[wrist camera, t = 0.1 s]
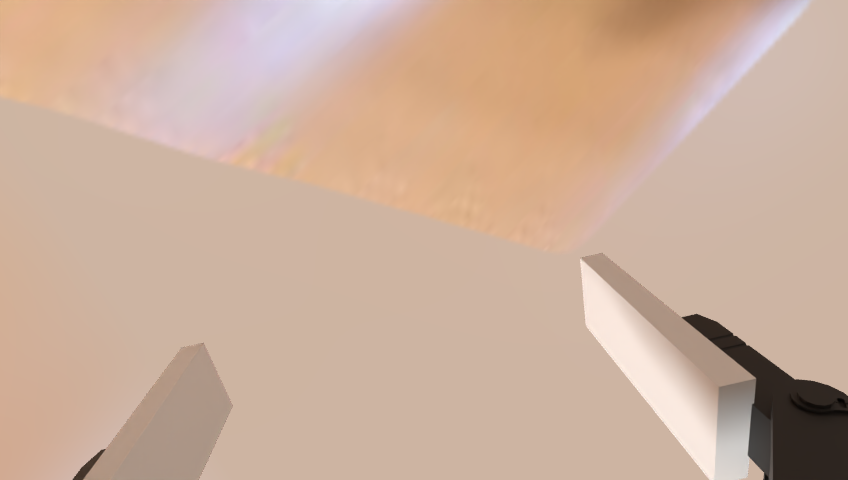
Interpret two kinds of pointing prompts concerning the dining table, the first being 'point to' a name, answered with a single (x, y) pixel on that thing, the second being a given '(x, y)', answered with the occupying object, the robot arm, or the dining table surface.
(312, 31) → the dining table surface
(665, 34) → the dining table surface
